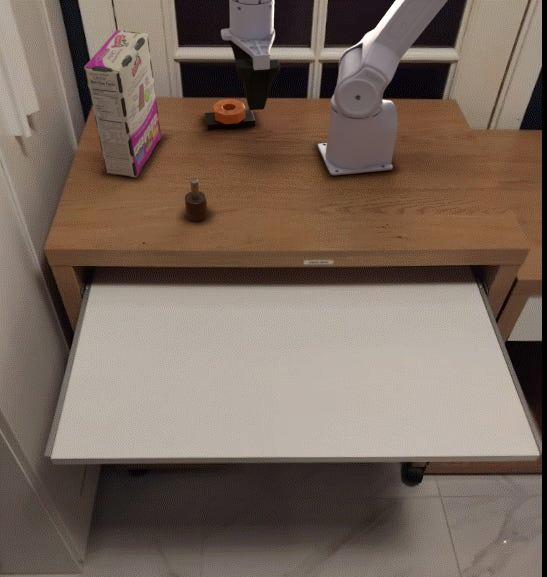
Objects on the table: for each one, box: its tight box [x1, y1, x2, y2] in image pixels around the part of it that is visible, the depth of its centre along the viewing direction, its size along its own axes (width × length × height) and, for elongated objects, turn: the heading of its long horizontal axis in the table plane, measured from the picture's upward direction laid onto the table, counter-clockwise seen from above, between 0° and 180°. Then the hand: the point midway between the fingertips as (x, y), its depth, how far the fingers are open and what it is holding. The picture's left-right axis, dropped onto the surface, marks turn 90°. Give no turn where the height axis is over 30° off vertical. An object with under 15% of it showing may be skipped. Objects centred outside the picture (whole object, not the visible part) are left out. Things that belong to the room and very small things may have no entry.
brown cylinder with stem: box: [184, 178, 208, 222], centre depth 83 cm, size 3×3×6 cm
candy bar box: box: [83, 30, 162, 179], centre depth 89 cm, size 11×5×16 cm, turn 168°
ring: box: [212, 98, 246, 124], centre depth 100 cm, size 5×5×2 cm
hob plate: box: [204, 108, 256, 131], centre depth 101 cm, size 8×4×1 cm, turn 102°
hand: (251, 95), depth 90 cm, fingers open, 7 cm apart
